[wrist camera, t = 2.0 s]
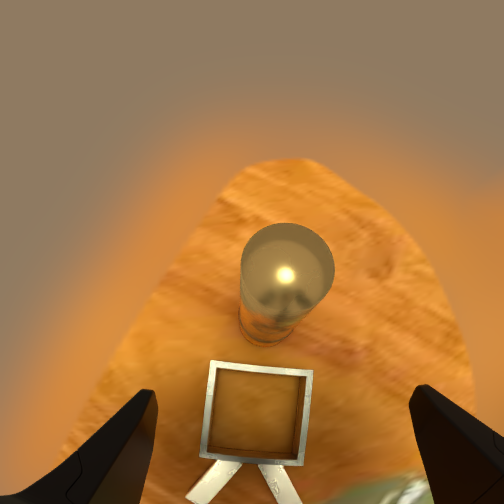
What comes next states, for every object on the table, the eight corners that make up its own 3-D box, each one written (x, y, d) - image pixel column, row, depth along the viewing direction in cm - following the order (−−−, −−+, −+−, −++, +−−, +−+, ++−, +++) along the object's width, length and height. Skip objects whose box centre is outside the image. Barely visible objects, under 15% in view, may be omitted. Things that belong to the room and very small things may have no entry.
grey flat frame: (299, 508, 16) (305, 519, 14) (187, 499, 17) (182, 509, 15) (316, 372, 21) (324, 370, 19) (203, 360, 21) (199, 358, 19)
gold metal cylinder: (288, 349, 21) (334, 317, 11) (235, 344, 21) (233, 307, 11) (292, 299, 23) (335, 227, 13) (241, 293, 23) (245, 216, 13)
